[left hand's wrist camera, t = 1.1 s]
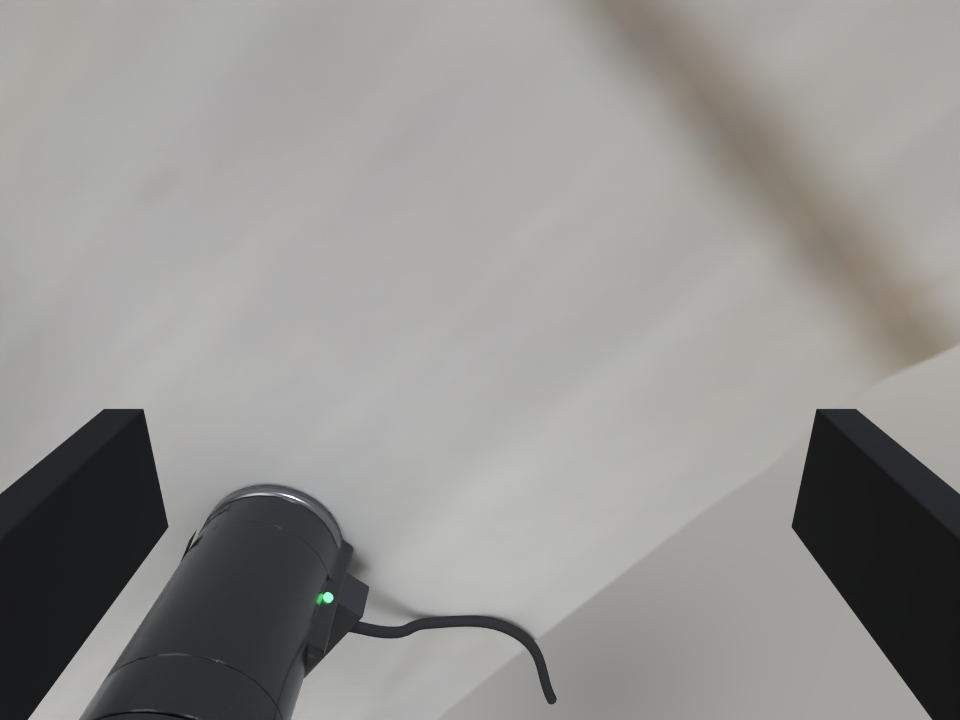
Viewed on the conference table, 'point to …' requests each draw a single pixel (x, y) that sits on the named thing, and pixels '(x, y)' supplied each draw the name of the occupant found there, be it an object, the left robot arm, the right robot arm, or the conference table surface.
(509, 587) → the conference table surface
